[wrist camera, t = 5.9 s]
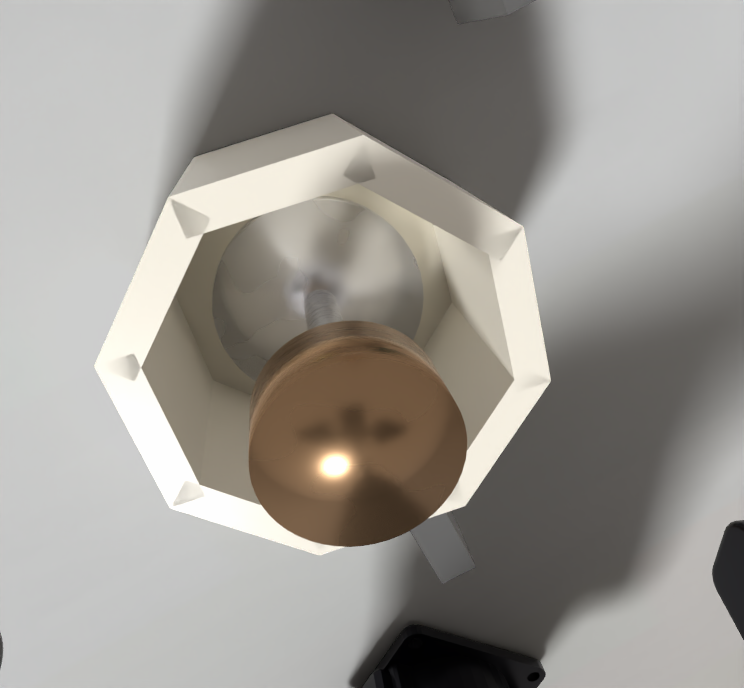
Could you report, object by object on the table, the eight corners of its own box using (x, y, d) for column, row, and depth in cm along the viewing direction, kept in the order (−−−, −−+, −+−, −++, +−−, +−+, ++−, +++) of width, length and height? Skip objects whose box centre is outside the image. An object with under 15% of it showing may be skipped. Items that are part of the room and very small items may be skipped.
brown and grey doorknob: (456, 254, 18) (588, 382, 11) (359, 418, 19) (418, 623, 12) (269, 155, 16) (281, 231, 9) (179, 344, 17) (127, 536, 10)
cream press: (573, 251, 19) (679, 315, 14) (420, 486, 21) (466, 607, 17) (237, 58, 15) (229, 58, 11) (101, 365, 18) (46, 475, 13)
